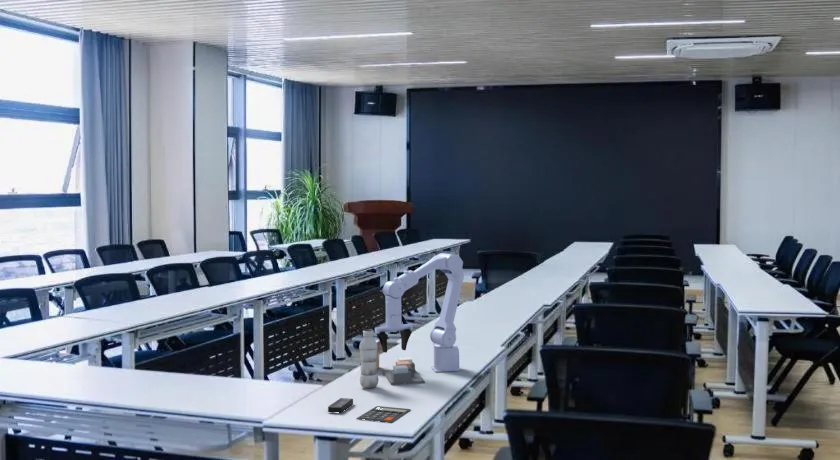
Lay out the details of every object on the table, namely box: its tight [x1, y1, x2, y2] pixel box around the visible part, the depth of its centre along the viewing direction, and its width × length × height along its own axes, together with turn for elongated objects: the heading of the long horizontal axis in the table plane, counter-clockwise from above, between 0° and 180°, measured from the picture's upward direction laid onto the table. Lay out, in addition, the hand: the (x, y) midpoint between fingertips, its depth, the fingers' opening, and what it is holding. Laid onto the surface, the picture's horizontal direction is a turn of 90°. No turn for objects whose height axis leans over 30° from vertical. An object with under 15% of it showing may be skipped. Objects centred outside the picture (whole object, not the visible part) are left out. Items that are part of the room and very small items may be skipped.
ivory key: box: [397, 356, 413, 364], centre depth 312 cm, size 4×4×2 cm
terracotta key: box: [395, 361, 410, 369], centre depth 305 cm, size 4×4×2 cm
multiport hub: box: [327, 397, 354, 414], centre depth 264 cm, size 4×11×2 cm, turn 164°
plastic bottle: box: [358, 329, 379, 389], centre depth 290 cm, size 6×7×20 cm
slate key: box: [393, 365, 408, 374], centre depth 298 cm, size 4×4×2 cm
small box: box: [375, 339, 381, 369], centre depth 320 cm, size 8×6×10 cm
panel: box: [382, 361, 426, 386], centre depth 305 cm, size 12×20×4 cm, turn 11°
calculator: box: [356, 405, 411, 424], centre depth 257 cm, size 12×1×15 cm
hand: (394, 351), depth 307 cm, fingers open, 7 cm apart
